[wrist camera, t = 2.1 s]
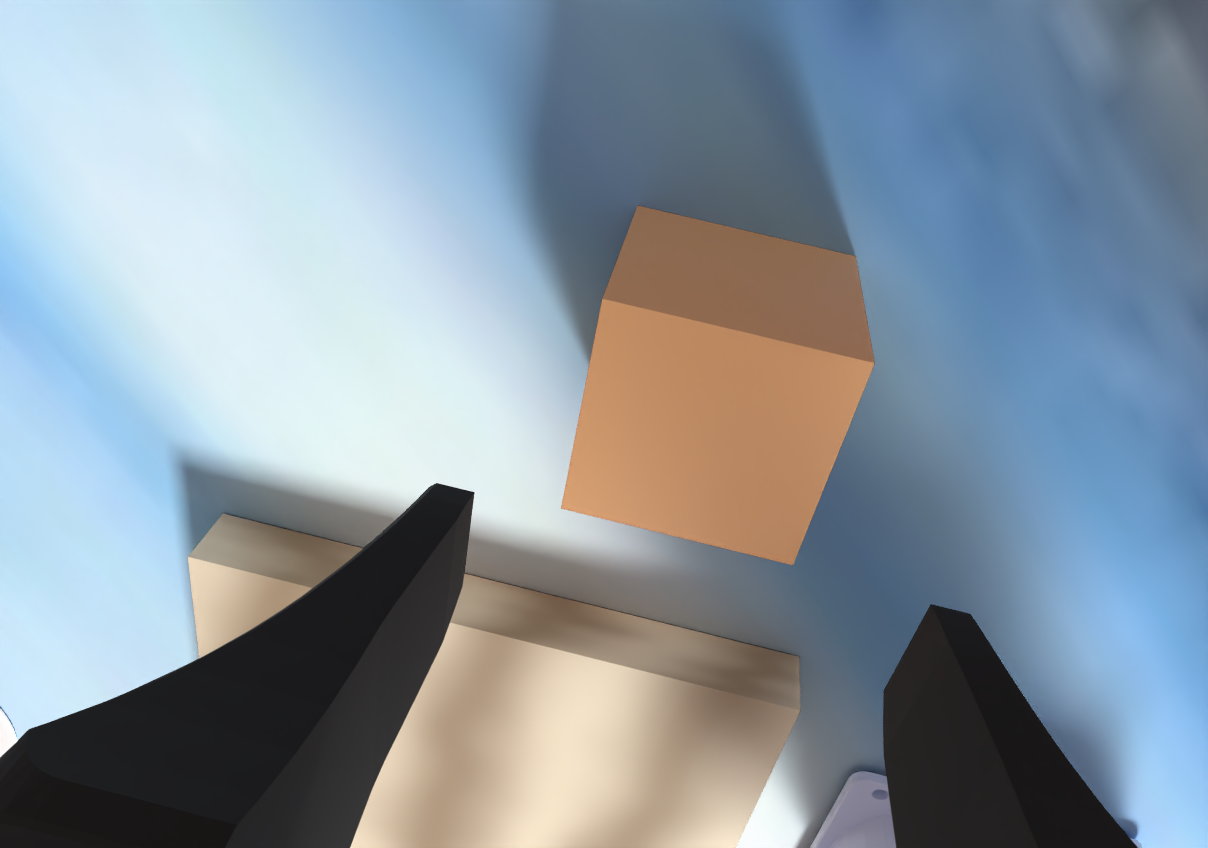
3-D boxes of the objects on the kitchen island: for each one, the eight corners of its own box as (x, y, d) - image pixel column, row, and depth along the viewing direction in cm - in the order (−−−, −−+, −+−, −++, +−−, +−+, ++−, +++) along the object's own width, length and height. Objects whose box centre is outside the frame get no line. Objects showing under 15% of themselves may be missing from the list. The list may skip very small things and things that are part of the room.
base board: (799, 656, 27) (800, 710, 26) (691, 897, 35) (686, 950, 33) (222, 513, 28) (187, 556, 26) (244, 781, 36) (218, 828, 34)
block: (855, 254, 20) (874, 363, 16) (790, 434, 23) (792, 565, 19) (638, 204, 21) (602, 298, 16) (600, 388, 23) (560, 508, 19)
